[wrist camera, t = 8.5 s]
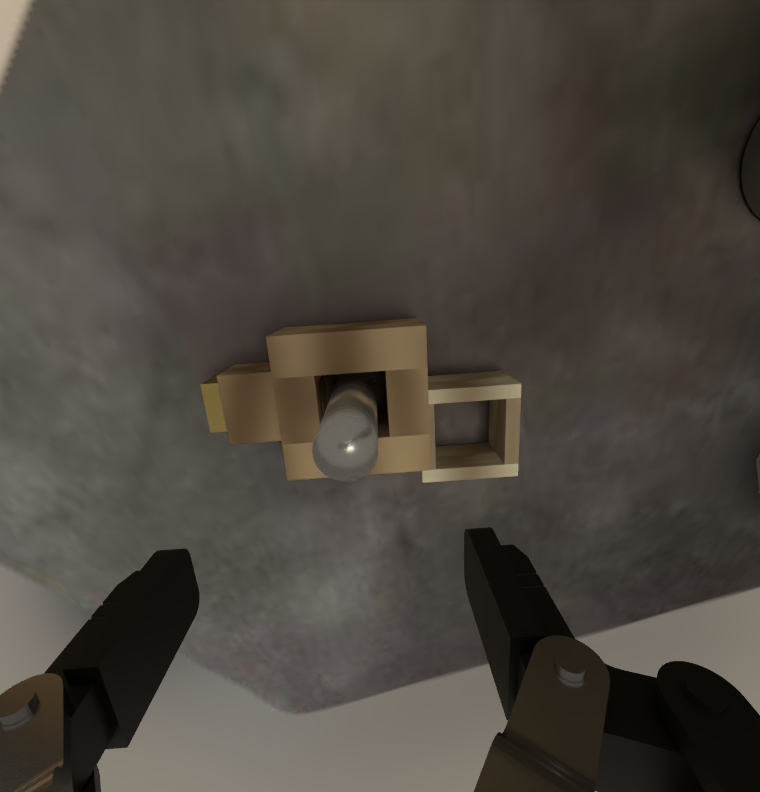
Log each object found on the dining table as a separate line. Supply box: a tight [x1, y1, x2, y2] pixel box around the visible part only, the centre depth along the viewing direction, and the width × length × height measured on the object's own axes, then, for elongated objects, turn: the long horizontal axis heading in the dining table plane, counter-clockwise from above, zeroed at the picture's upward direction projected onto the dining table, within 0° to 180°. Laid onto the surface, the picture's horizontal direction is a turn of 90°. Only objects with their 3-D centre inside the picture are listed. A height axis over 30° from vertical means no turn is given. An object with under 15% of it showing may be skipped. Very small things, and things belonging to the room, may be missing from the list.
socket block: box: [217, 318, 431, 480], centre depth 28 cm, size 14×10×5 cm
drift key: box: [200, 375, 327, 432], centre depth 29 cm, size 8×4×3 cm, turn 94°
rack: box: [420, 371, 521, 483], centre depth 29 cm, size 7×7×4 cm
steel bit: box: [312, 372, 378, 481], centre depth 24 cm, size 3×3×12 cm
